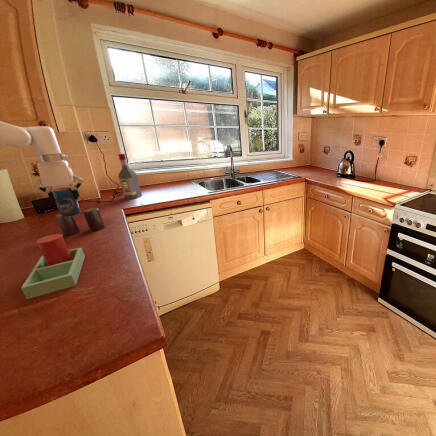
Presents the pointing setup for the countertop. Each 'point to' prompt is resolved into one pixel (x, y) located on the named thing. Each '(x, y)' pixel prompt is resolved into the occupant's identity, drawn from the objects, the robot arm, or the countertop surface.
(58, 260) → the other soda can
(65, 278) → the can rack
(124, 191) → the liquor
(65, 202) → the soda can
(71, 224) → the grey tin left
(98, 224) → the grey tin right
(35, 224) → the countertop surface
